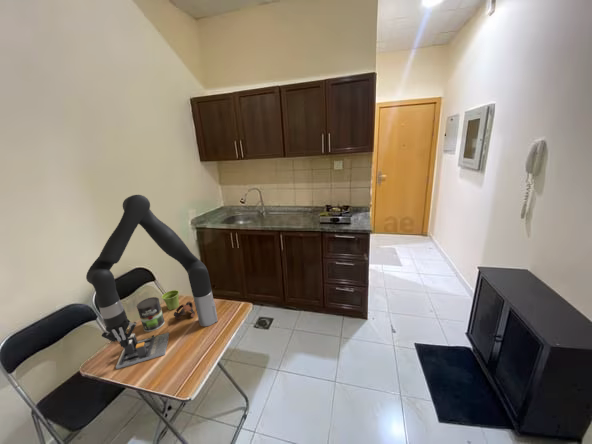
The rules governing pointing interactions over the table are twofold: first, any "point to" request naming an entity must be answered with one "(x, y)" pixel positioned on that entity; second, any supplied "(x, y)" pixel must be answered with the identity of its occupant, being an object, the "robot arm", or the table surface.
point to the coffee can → (150, 314)
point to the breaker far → (133, 339)
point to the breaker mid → (129, 347)
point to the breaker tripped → (141, 349)
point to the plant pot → (171, 299)
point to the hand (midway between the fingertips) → (125, 345)
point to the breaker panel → (154, 349)
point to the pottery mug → (182, 312)
